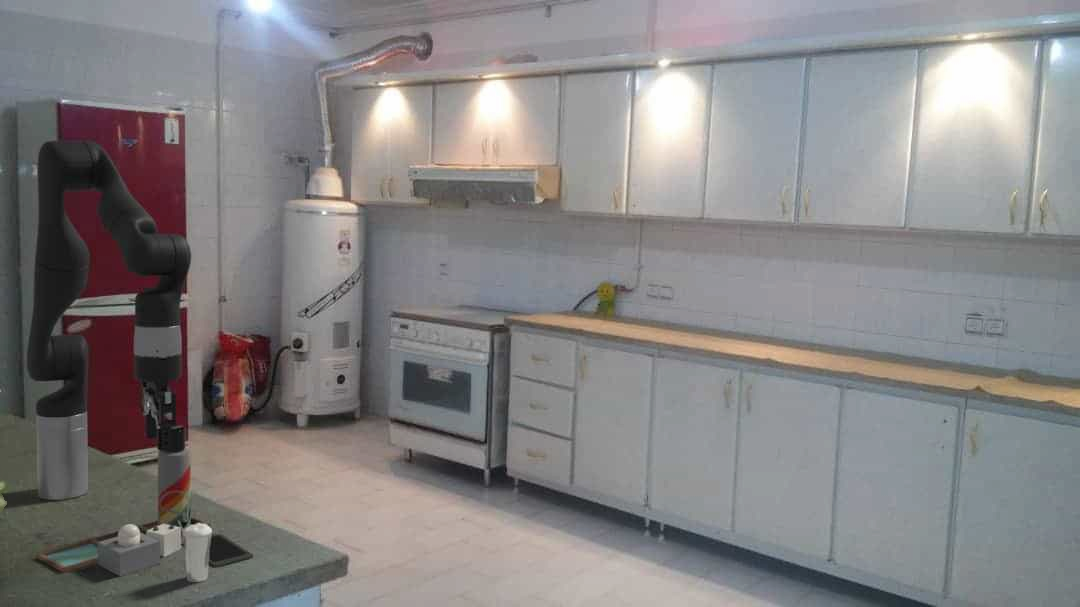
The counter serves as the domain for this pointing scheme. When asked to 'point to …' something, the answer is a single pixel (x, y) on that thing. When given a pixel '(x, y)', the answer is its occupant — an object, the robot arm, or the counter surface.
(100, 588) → the counter surface
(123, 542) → the dome
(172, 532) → the die
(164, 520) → the lotion bottle
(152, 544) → the button box
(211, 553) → the cell phone
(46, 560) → the track
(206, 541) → the milkshake
